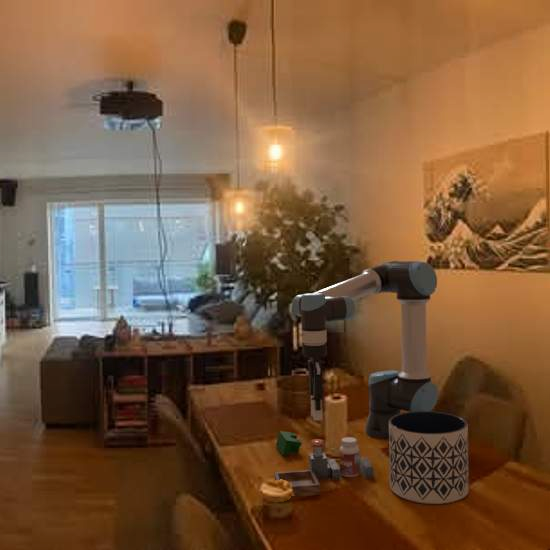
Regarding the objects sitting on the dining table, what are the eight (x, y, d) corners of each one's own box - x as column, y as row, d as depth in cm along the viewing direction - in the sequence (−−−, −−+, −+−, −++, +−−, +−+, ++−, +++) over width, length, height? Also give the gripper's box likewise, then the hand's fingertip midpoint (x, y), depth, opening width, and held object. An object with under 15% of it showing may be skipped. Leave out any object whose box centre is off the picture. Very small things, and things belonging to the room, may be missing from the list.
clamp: (296, 466, 221) (303, 446, 218) (279, 464, 220) (287, 443, 216) (291, 443, 232) (298, 423, 228) (275, 440, 231) (282, 421, 227)
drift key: (323, 461, 202) (322, 438, 201) (325, 465, 198) (324, 442, 197) (310, 461, 202) (310, 439, 201) (312, 466, 198) (312, 443, 197)
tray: (313, 479, 198) (312, 469, 198) (319, 494, 186) (319, 484, 186) (274, 481, 197) (274, 472, 196) (278, 497, 185) (278, 487, 185)
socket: (366, 467, 206) (366, 447, 206) (373, 478, 197) (372, 457, 197) (308, 471, 204) (307, 451, 204) (312, 482, 195) (312, 461, 195)
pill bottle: (336, 475, 201) (335, 440, 200) (347, 469, 205) (346, 435, 205) (352, 479, 197) (351, 444, 196) (363, 473, 201) (362, 438, 201)
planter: (456, 512, 172) (454, 438, 170) (378, 496, 183) (376, 427, 182) (477, 483, 190) (476, 416, 189) (405, 470, 202) (404, 407, 201)
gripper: (298, 339, 205) (301, 411, 207) (306, 348, 189) (308, 426, 190) (321, 338, 206) (323, 409, 207) (331, 347, 189) (333, 425, 191)
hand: (316, 417), depth 199 cm, fingers open, 4 cm apart
